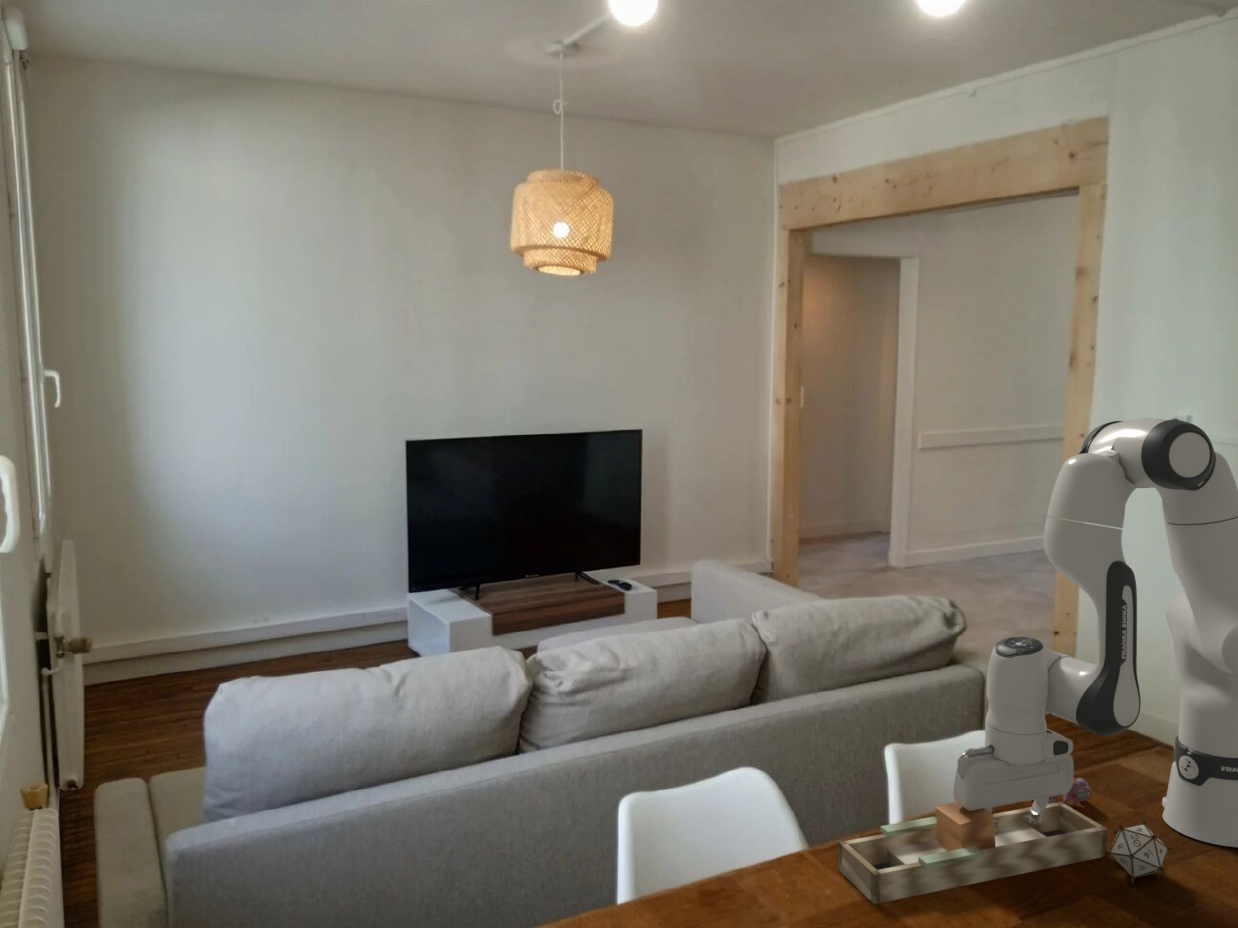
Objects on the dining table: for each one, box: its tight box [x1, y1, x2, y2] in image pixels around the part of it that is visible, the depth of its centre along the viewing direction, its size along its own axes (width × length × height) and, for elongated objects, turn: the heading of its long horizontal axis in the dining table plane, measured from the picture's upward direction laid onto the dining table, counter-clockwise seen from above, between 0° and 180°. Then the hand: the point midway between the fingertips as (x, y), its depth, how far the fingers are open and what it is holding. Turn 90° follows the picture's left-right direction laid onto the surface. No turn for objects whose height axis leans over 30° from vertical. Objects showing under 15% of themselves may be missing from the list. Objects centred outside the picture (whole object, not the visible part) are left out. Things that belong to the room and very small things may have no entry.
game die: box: [1103, 818, 1175, 884], centre depth 147 cm, size 9×8×10 cm
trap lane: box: [837, 801, 1109, 905], centre depth 151 cm, size 42×12×5 cm, turn 108°
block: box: [935, 800, 996, 851], centre depth 150 cm, size 6×6×6 cm
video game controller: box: [1048, 776, 1093, 807], centre depth 170 cm, size 10×5×7 cm, turn 83°
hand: (1011, 826), depth 153 cm, fingers open, 7 cm apart
